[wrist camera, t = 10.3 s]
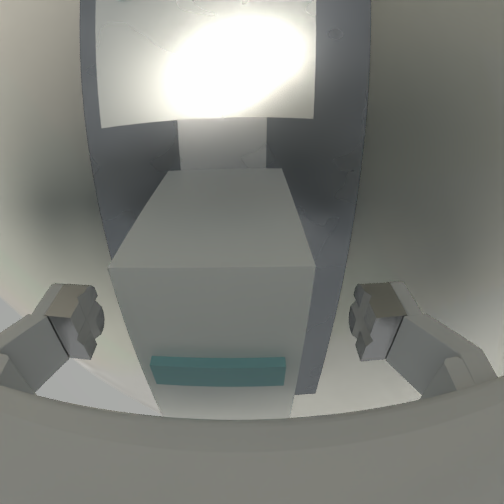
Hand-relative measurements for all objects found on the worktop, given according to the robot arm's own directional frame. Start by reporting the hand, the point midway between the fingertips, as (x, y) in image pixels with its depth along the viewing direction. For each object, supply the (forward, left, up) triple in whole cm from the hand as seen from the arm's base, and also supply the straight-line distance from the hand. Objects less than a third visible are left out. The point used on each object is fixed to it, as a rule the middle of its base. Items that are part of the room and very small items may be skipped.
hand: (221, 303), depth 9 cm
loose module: (0, 0, -4) cm, 4 cm away
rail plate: (0, 0, -5) cm, 5 cm away
